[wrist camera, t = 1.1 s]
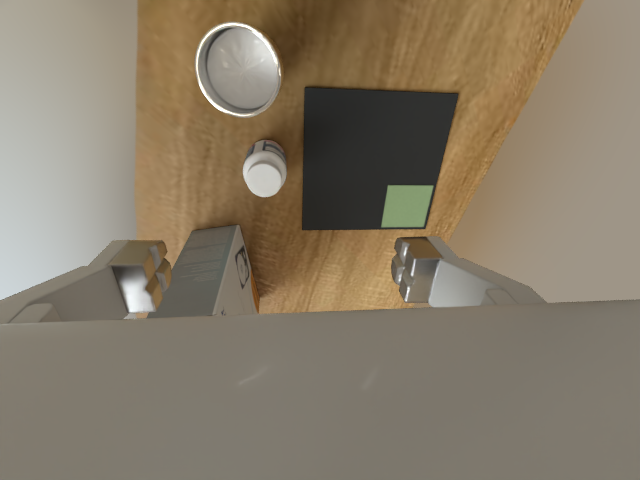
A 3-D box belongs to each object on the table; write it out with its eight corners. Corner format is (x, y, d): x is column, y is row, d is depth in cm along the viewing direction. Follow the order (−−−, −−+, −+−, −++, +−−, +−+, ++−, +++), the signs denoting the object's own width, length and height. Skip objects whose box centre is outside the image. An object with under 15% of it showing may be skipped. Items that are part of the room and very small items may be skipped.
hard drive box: (261, 299, 55) (251, 408, 38) (218, 305, 55) (189, 418, 38) (240, 222, 47) (215, 317, 30) (189, 229, 47) (136, 329, 30)
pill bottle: (255, 181, 44) (250, 208, 36) (241, 145, 41) (231, 166, 34) (291, 170, 44) (293, 195, 36) (279, 134, 41) (278, 152, 34)
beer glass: (294, 82, 38) (298, 97, 25) (244, 108, 39) (224, 134, 26) (266, 19, 35) (255, -2, 22) (212, 49, 36) (171, 45, 23)
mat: (304, 87, 39) (305, 87, 38) (457, 93, 41) (459, 94, 40) (302, 229, 49) (302, 230, 48) (424, 227, 51) (425, 229, 50)
